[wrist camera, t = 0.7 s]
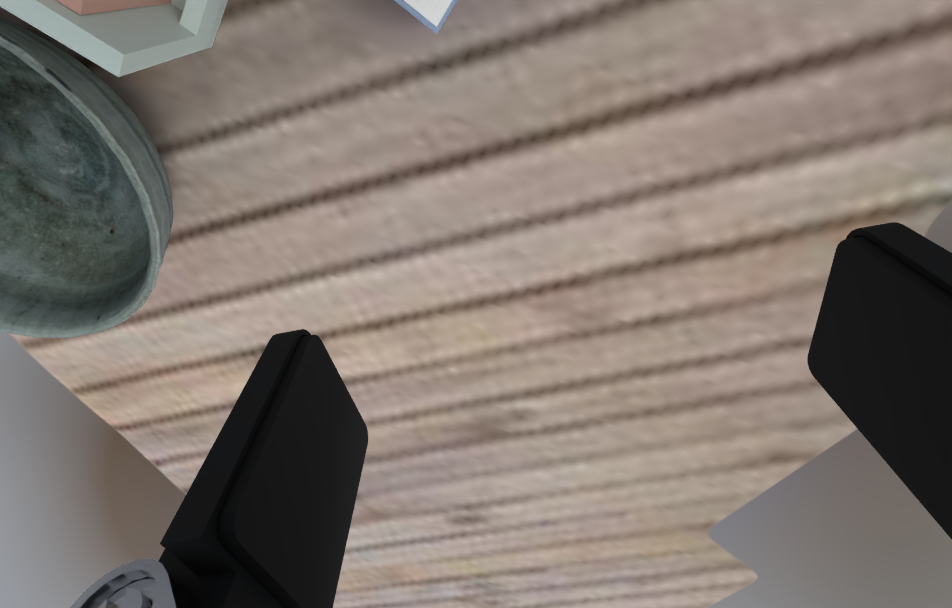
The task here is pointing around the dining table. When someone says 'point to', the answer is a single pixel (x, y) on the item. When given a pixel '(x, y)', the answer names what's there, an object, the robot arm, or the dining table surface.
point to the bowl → (73, 196)
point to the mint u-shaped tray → (125, 28)
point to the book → (429, 11)
